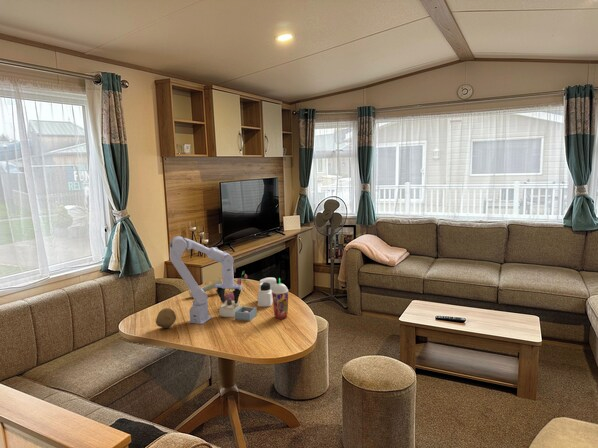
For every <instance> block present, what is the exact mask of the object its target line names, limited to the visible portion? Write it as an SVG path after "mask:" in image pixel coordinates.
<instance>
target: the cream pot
mask: <svg viewBox="0 0 598 448" xmlns="http://www.w3.org/2000/svg"><path fill="white" fill-rule="evenodd" d="M241 307H242V306H241V304H238V305H237V306H236V307H235V308H234V310H229V309H220V308H219V311H218V312H219V317H223V318H230V319H231V318H232V319H234V318H235V312H236V311H237V310H238V309H240V308H241Z"/></svg>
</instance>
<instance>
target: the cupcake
mask: <svg viewBox="0 0 598 448" xmlns="http://www.w3.org/2000/svg"><path fill="white" fill-rule="evenodd" d="M224 295H225V301H226V300H227V298H231V300H232V301H234V294H233V292H229V293H226V294H224ZM225 301H224V302H225ZM224 302H223V303H224ZM223 303H222V304H223Z"/></svg>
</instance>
